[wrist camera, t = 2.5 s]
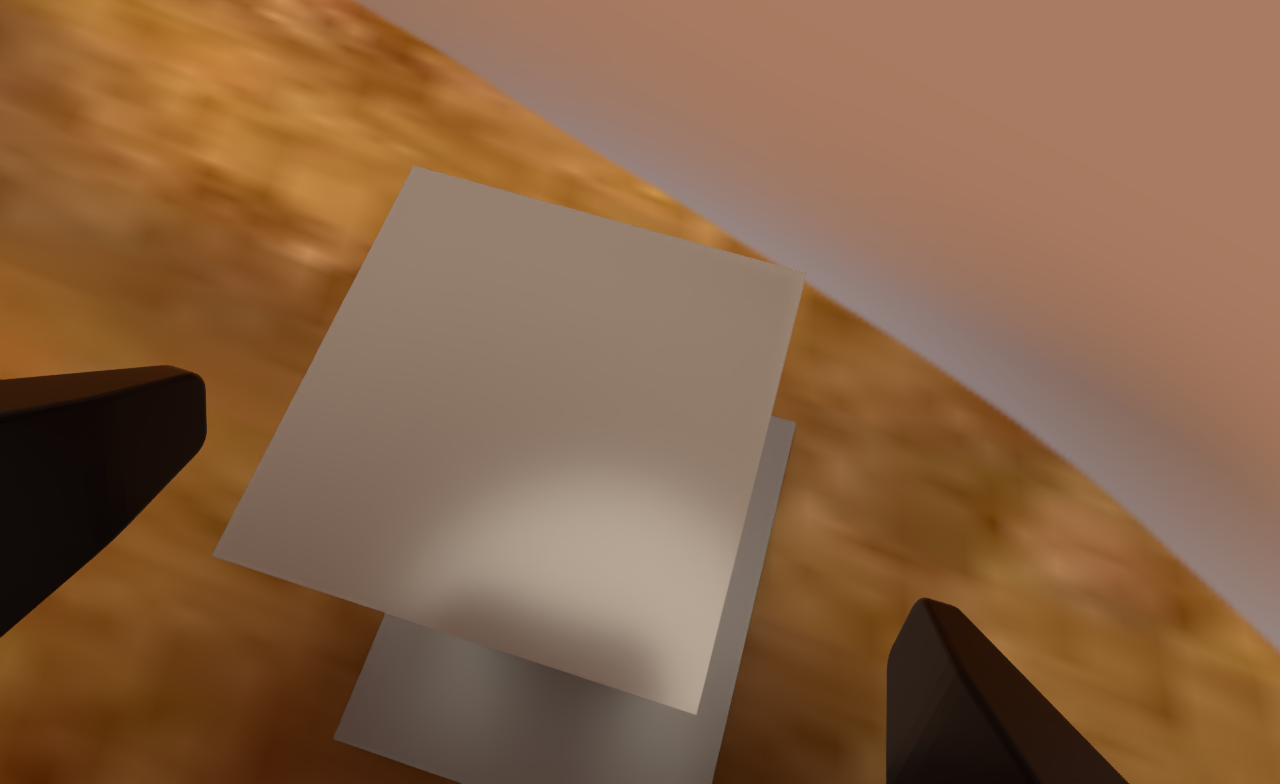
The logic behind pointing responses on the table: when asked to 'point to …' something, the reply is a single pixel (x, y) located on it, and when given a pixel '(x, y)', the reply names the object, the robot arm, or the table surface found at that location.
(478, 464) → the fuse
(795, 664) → the table surface
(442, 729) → the holder plate
